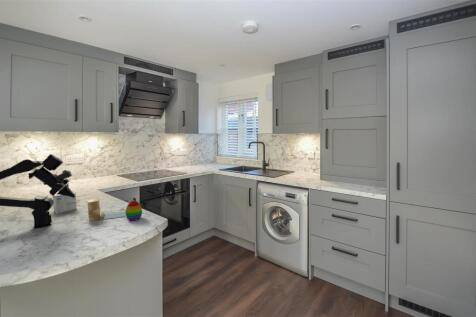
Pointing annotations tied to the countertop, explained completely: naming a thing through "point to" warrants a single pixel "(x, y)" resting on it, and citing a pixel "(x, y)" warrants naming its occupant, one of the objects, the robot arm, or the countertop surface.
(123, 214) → the slate mat
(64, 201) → the light bulb box
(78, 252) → the countertop surface
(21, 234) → the countertop surface
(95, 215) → the oak block
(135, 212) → the decorative egg
